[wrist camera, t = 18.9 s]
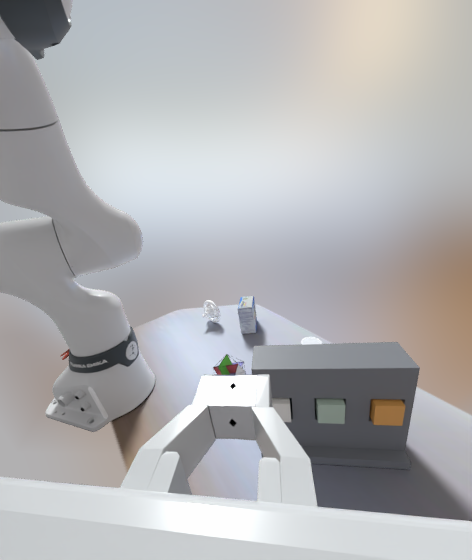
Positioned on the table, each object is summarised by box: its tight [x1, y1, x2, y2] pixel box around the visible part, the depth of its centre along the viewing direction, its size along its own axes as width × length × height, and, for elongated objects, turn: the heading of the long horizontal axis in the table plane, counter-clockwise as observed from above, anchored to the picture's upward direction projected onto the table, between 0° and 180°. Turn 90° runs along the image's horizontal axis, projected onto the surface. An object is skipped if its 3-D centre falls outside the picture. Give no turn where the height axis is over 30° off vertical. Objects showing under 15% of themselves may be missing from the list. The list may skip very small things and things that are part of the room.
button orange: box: [369, 399, 405, 426], centre depth 30 cm, size 3×3×3 cm
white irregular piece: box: [202, 300, 220, 323], centre depth 73 cm, size 8×6×8 cm
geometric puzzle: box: [213, 355, 246, 375], centre depth 47 cm, size 7×7×8 cm
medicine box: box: [238, 296, 257, 334], centre depth 68 cm, size 8×4×9 cm, turn 174°
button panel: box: [252, 342, 420, 470], centre depth 33 cm, size 20×7×16 cm, turn 82°
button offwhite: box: [272, 398, 291, 422], centre depth 32 cm, size 3×3×3 cm
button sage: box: [314, 398, 345, 424], centre depth 31 cm, size 3×3×3 cm
